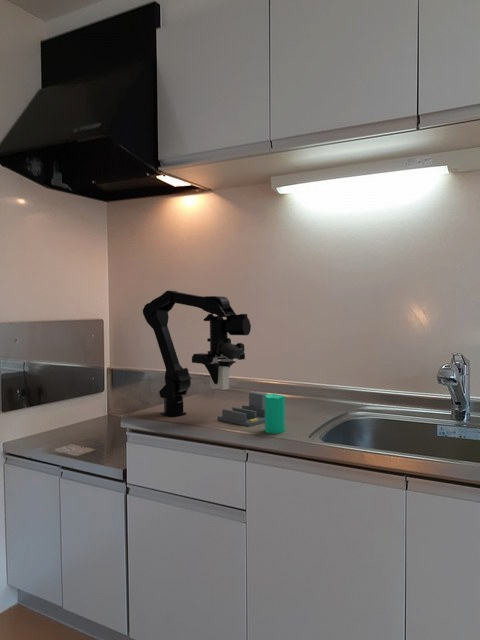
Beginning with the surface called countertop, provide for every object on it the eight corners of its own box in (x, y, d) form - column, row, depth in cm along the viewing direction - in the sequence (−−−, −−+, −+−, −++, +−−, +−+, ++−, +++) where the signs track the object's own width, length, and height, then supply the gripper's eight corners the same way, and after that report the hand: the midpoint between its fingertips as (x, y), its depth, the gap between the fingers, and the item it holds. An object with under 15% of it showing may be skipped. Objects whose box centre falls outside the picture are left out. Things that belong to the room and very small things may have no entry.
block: (210, 387, 162) (209, 366, 161) (216, 386, 164) (216, 365, 163) (222, 389, 157) (222, 367, 157) (229, 388, 159) (228, 366, 159)
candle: (262, 429, 149) (262, 389, 149) (281, 428, 151) (281, 388, 150) (267, 434, 143) (268, 392, 143) (287, 432, 145) (288, 391, 144)
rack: (217, 419, 162) (217, 394, 162) (248, 412, 173) (249, 389, 172) (249, 426, 152) (249, 400, 152) (280, 418, 163) (280, 394, 163)
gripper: (214, 337, 148) (215, 389, 148) (256, 334, 161) (257, 382, 161) (190, 336, 156) (191, 386, 156) (232, 333, 169) (233, 379, 169)
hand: (219, 383), depth 160 cm, fingers closed on block, 3 cm apart
